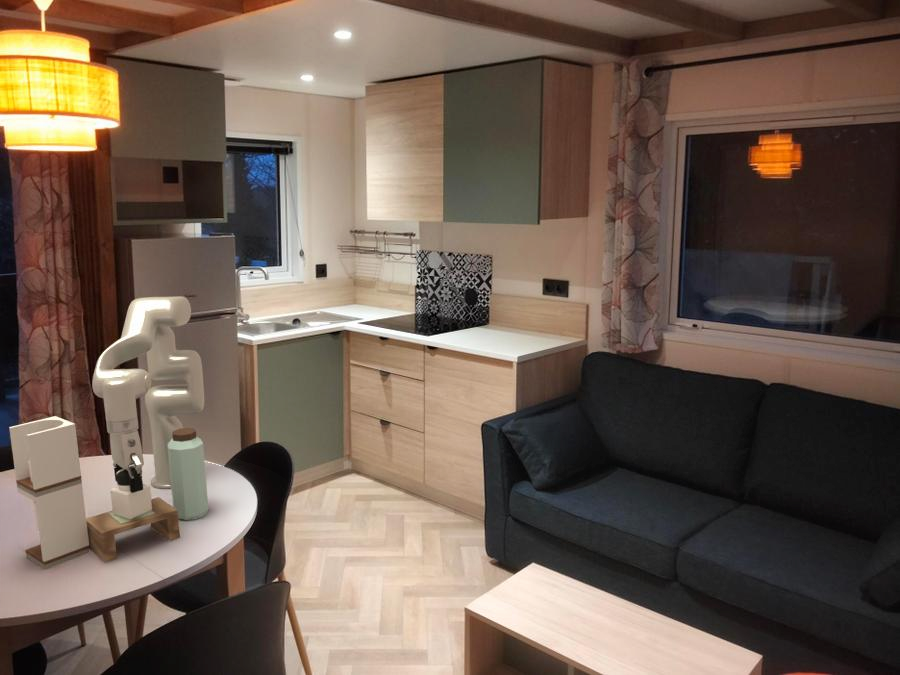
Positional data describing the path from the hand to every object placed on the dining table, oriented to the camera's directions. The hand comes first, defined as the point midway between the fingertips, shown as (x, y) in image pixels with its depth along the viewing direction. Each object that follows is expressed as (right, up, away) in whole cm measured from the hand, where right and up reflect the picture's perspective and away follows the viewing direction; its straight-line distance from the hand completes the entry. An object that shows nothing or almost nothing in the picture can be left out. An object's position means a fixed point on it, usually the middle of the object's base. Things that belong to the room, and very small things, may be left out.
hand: (129, 485), depth 210 cm
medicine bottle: (0, -8, +1) cm, 8 cm away
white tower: (-17, -17, -4) cm, 25 cm away
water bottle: (+10, -12, +20) cm, 25 cm away
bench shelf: (0, -16, +3) cm, 16 cm away
